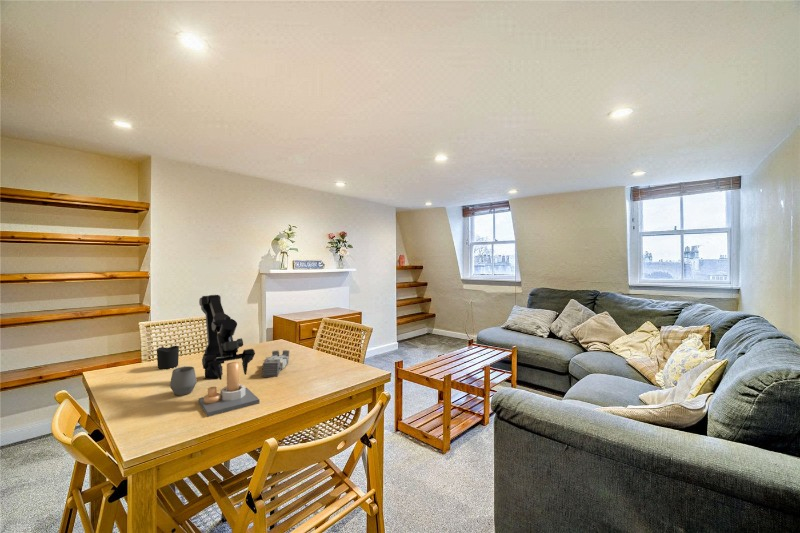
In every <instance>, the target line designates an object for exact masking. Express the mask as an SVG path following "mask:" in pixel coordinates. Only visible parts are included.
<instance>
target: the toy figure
mask: <svg viewBox="0 0 800 533" xmlns="http://www.w3.org/2000/svg"><path fill="white" fill-rule="evenodd" d="M290 351H291V350H286V349H282V354H280V350H279V349H278V350H277V349H276V350H272V352H271V353H272V356H267V357H265V360H264V362H262V368H261V370H262V378H273V377H274V378H275V377H276V378H277V377H278V376H279V374H280V373H281V370H282V369H284V368H285V367H286V366H288V365H289V362H290V361H289V359H290Z"/></svg>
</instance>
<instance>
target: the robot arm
mask: <svg viewBox="0 0 800 533" xmlns="http://www.w3.org/2000/svg"><path fill="white" fill-rule="evenodd" d="M198 301H199V302H198V303H199V304H198V305H199V306H200V309H201V311H202V312H203V313H204V314H205V324H206V326H205V327H206V337H207V346H206V347H205V349H204V353H203V355H202V359H201V364H202V368H203V369H204V377H203V378H202V379H203V380H217V379H219V381H221V380H222V377H223V375H224V374H223V366H222V364H225V362H228V361H235V360H239V359H241V361H242V362H241V364H242V371H243V373H244V375H247V372H248V364H250V362H251V361H253V360H254V357H255V354H256V352H255V350H254V349H253V348H249V349H244V350H243V351H242V353H238V352H239V349H240V347H241V348H242V347H243V346H244V340H243V338H237V339H236V340H234V338H233V336H234V335H235V332H236V329H237V326H238V323H237V321H236V319H233V318H231V316H229V315H228V314H226V313H225V311H224V307H223V305H222V298H221V295H219V294H210V295H202V296H201V297H200V298H199V300H198Z"/></svg>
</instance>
